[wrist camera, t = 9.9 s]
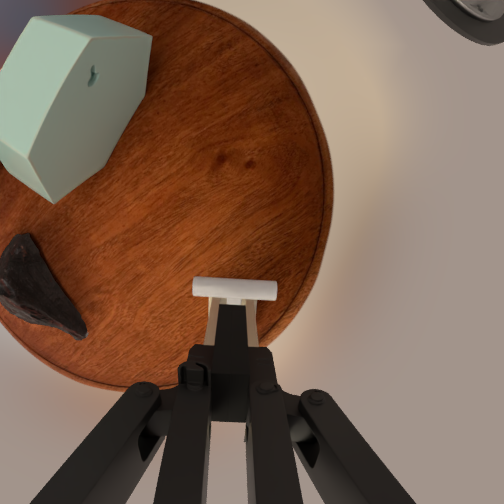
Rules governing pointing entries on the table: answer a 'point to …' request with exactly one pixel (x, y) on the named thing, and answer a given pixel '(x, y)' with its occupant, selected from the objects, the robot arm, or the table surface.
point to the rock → (35, 289)
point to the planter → (69, 98)
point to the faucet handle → (234, 289)
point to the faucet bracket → (250, 318)
